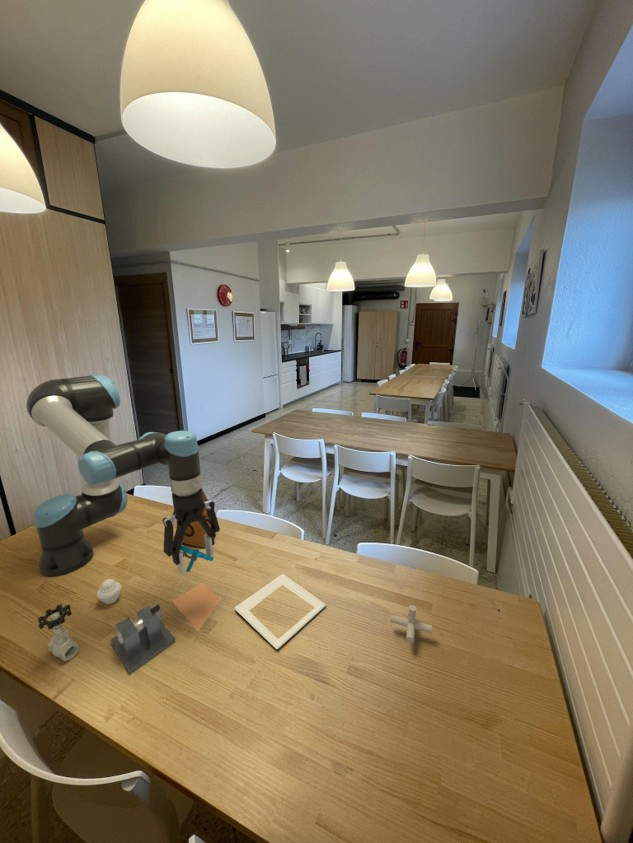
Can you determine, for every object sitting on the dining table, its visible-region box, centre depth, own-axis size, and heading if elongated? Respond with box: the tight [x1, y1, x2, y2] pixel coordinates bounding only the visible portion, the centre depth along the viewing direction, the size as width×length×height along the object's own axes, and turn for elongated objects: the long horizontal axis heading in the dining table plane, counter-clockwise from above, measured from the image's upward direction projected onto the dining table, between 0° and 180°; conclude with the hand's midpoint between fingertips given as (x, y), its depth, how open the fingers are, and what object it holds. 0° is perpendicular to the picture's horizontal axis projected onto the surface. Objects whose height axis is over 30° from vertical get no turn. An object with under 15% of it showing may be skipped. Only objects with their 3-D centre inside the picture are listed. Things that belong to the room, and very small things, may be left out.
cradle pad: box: [171, 582, 221, 632], centre depth 96 cm, size 15×10×1 cm, turn 49°
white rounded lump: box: [96, 578, 122, 605], centre depth 97 cm, size 6×6×7 cm
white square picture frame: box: [233, 573, 327, 650], centre depth 94 cm, size 19×19×2 cm
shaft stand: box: [110, 604, 176, 675], centre depth 83 cm, size 12×11×8 cm
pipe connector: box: [390, 604, 433, 644], centre depth 84 cm, size 10×10×10 cm
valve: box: [37, 604, 80, 662], centre depth 80 cm, size 7×7×12 cm
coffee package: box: [175, 490, 212, 548], centre depth 123 cm, size 10×12×22 cm
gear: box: [180, 544, 214, 573], centre depth 90 cm, size 11×6×10 cm
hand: (196, 563), depth 92 cm, fingers closed on gear, 8 cm apart
